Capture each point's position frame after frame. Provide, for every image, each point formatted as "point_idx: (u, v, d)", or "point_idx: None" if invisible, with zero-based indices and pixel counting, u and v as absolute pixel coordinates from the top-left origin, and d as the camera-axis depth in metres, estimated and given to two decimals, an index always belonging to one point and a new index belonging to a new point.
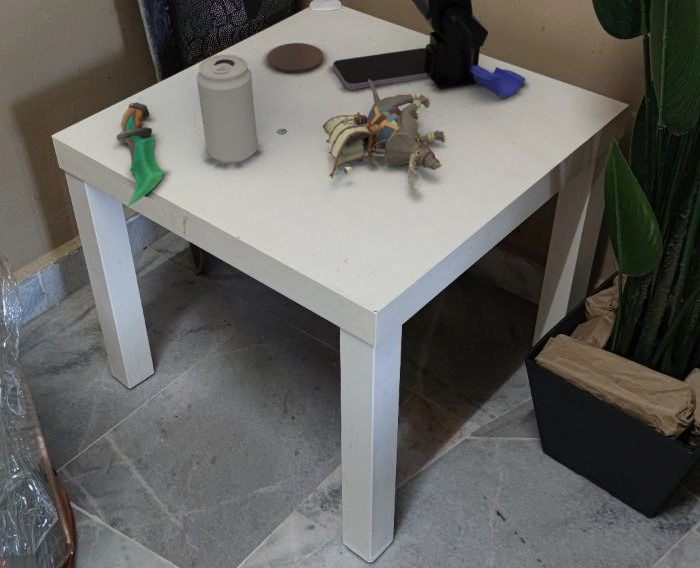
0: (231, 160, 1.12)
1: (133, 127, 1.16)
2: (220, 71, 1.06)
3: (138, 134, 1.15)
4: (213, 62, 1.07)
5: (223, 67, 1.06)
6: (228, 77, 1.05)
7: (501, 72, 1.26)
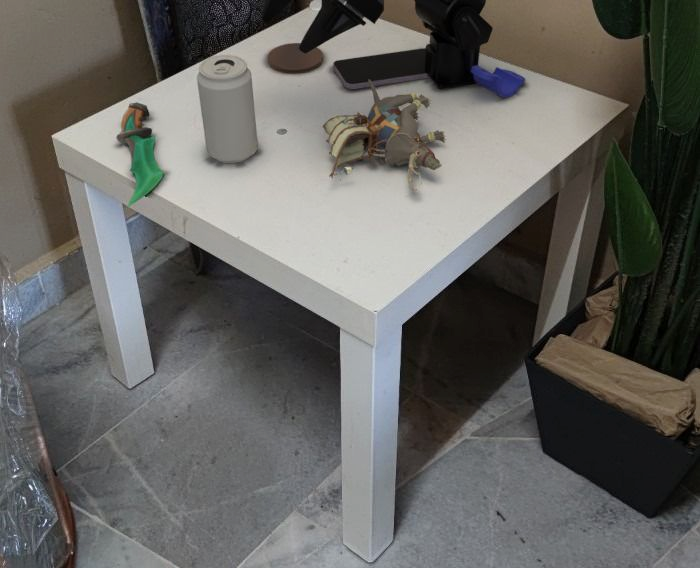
0: (231, 160, 1.12)
1: (133, 127, 1.16)
2: (220, 71, 1.06)
3: (138, 134, 1.15)
4: (213, 62, 1.07)
5: (223, 67, 1.06)
6: (228, 77, 1.05)
7: (501, 72, 1.26)
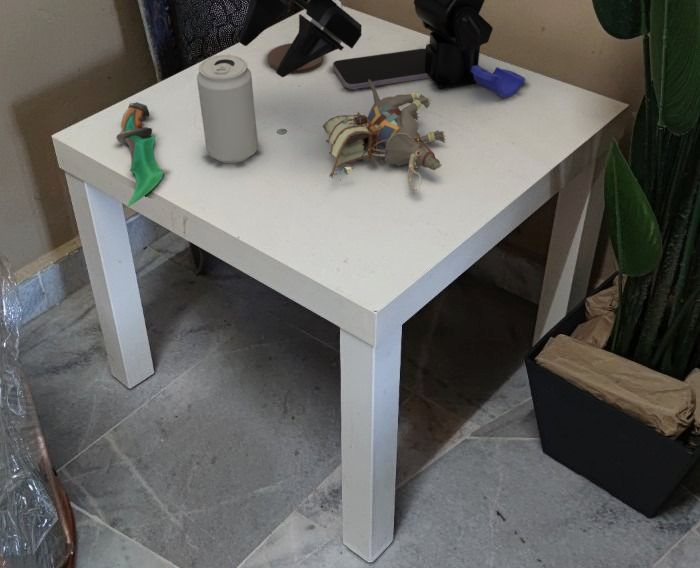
0: (231, 160, 1.12)
1: (133, 127, 1.16)
2: (220, 71, 1.06)
3: (138, 134, 1.15)
4: (213, 62, 1.07)
5: (223, 67, 1.06)
6: (228, 77, 1.05)
7: (501, 72, 1.26)
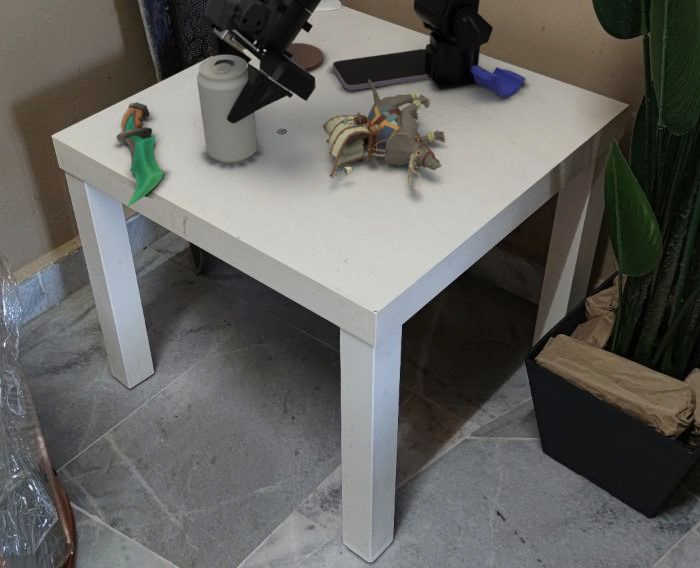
0: (231, 160, 1.12)
1: (133, 127, 1.16)
2: (220, 71, 1.06)
3: (138, 134, 1.15)
4: (213, 62, 1.07)
5: (223, 67, 1.06)
6: (228, 77, 1.05)
7: (501, 72, 1.26)
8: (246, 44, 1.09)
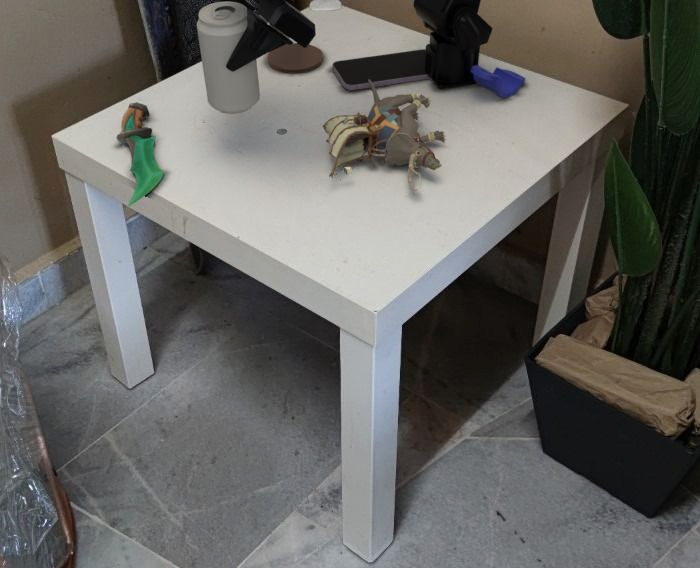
0: (231, 110, 1.09)
1: (133, 127, 1.16)
2: (220, 17, 1.04)
3: (138, 134, 1.15)
4: (214, 8, 1.05)
5: (224, 13, 1.04)
6: (227, 23, 1.03)
7: (501, 72, 1.26)
8: None
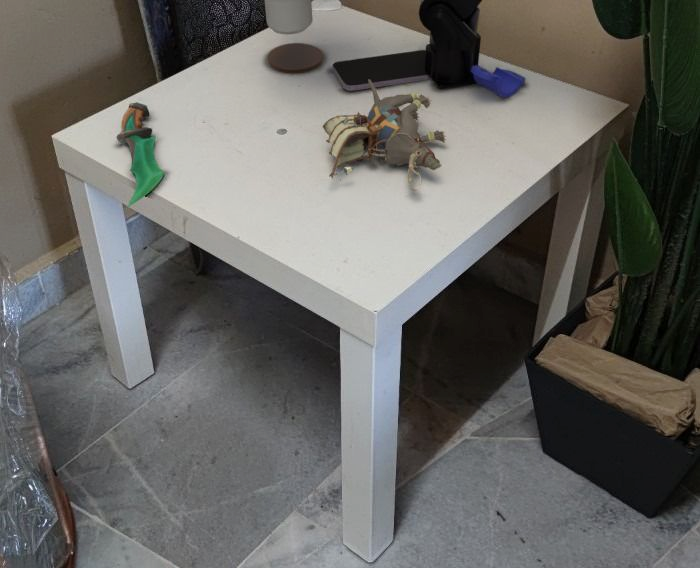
0: (274, 29, 1.25)
1: (133, 127, 1.16)
2: None
3: (138, 134, 1.15)
4: None
5: None
6: None
7: (501, 72, 1.26)
8: None
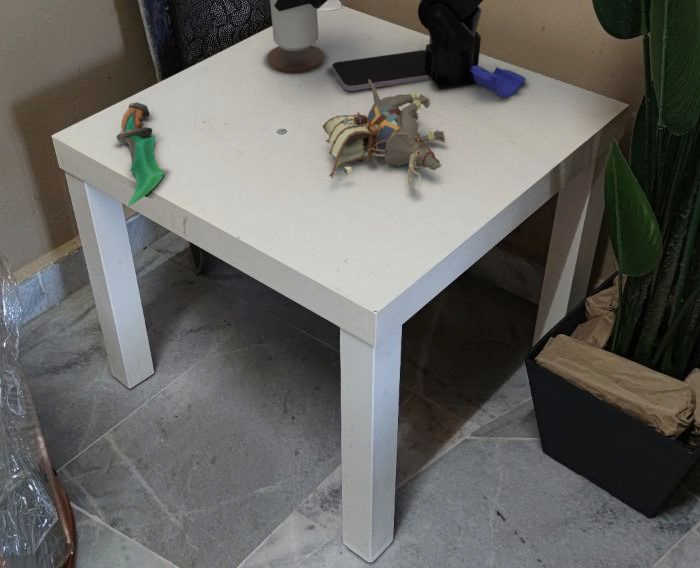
0: (280, 45, 1.28)
1: (133, 127, 1.16)
2: None
3: (138, 134, 1.15)
4: None
5: None
6: None
7: (501, 72, 1.26)
8: None
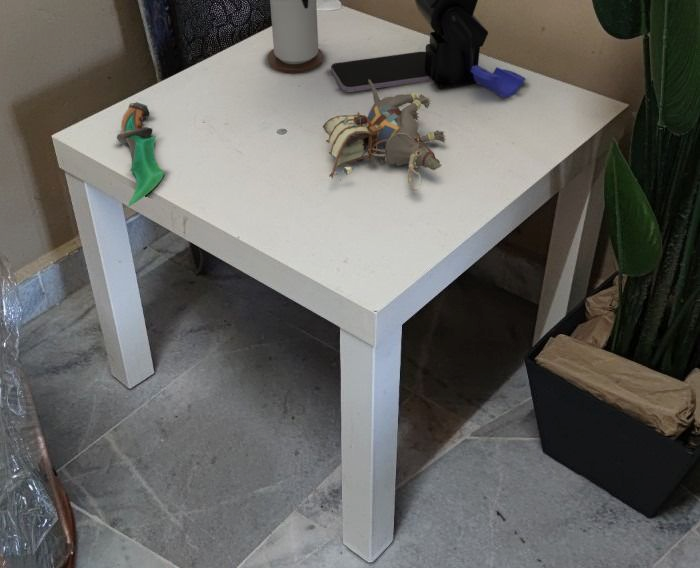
0: (280, 58, 1.29)
1: (133, 127, 1.16)
2: None
3: (138, 134, 1.15)
4: None
5: None
6: None
7: (501, 72, 1.26)
8: None
